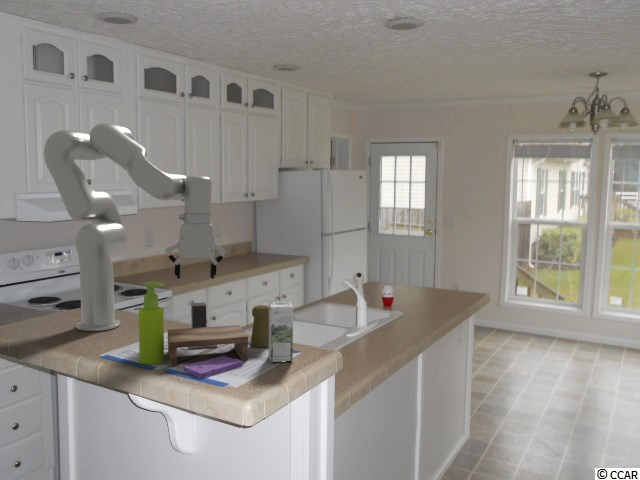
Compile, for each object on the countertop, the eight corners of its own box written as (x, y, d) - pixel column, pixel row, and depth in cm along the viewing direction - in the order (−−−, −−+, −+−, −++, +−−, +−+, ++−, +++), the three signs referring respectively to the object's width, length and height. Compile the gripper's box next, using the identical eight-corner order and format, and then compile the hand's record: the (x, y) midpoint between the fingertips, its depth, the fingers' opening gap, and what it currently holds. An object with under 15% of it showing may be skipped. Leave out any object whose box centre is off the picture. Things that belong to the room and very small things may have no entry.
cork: (268, 348, 154) (268, 308, 152) (247, 347, 155) (247, 307, 154) (274, 342, 159) (275, 304, 158) (254, 341, 161) (254, 302, 159)
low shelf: (167, 352, 149) (167, 329, 149) (239, 346, 155) (239, 325, 155) (170, 366, 138) (170, 342, 137) (247, 359, 144) (247, 336, 143)
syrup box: (290, 355, 148) (290, 300, 146) (293, 362, 142) (293, 306, 140) (268, 356, 147) (268, 301, 145) (270, 363, 141) (270, 306, 140)
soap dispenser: (154, 366, 138) (153, 285, 136) (134, 361, 141) (132, 282, 139) (172, 359, 143) (171, 281, 141) (152, 355, 146) (150, 278, 144)
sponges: (183, 373, 135) (182, 365, 135) (224, 361, 144) (224, 354, 144) (201, 380, 130) (201, 372, 130) (242, 367, 140) (242, 360, 139)
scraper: (186, 333, 168) (185, 303, 167) (210, 331, 170) (209, 302, 169) (190, 348, 153) (190, 316, 152) (217, 346, 155) (216, 314, 154)
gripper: (166, 219, 157) (165, 280, 159) (229, 221, 162) (226, 280, 164) (165, 217, 164) (163, 275, 166) (225, 218, 169) (223, 275, 171)
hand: (195, 277), depth 165 cm, fingers open, 9 cm apart
